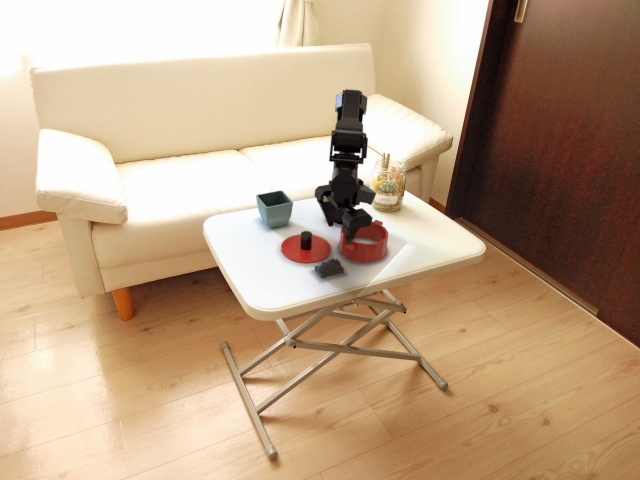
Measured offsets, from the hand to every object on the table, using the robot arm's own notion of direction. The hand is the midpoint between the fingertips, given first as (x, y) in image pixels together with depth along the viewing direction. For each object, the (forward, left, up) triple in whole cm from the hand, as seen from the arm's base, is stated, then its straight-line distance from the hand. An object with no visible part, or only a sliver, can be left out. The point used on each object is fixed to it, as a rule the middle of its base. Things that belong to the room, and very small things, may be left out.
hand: (339, 234), depth 115 cm
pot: (+1, +13, -12) cm, 18 cm away
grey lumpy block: (-1, -2, -12) cm, 12 cm away
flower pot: (-28, +9, -12) cm, 32 cm away
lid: (-12, +3, -11) cm, 17 cm away
